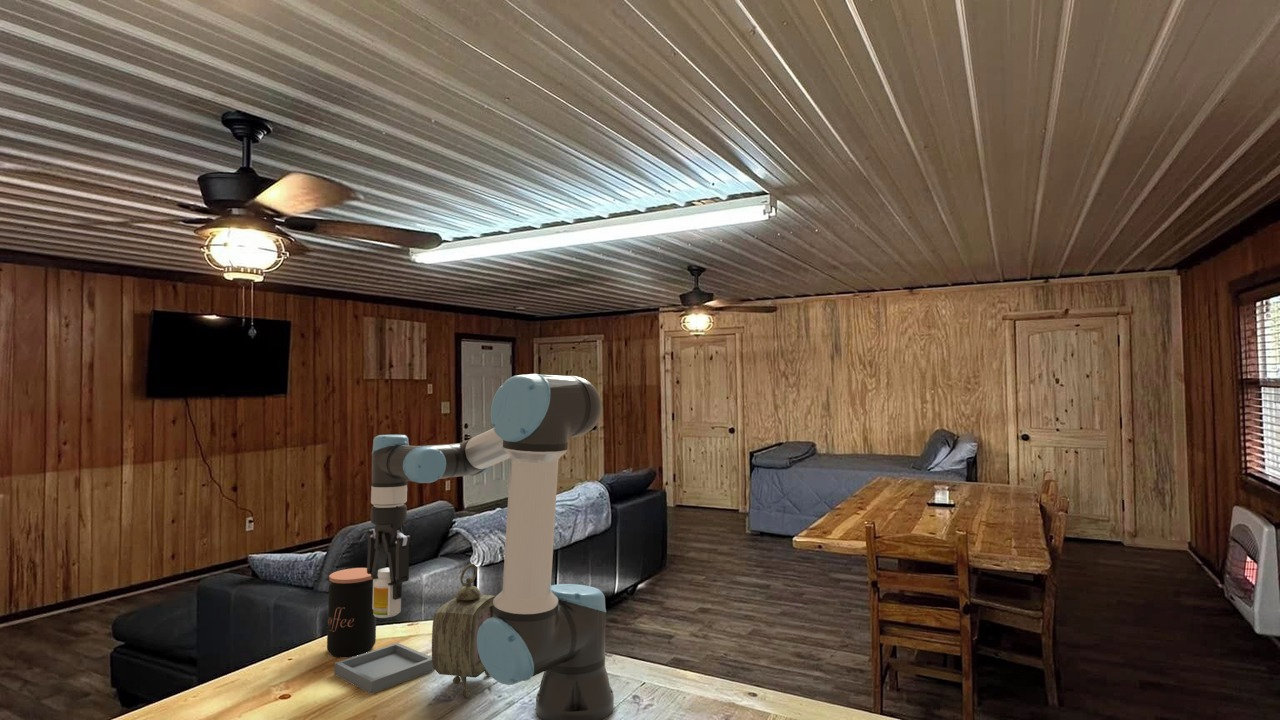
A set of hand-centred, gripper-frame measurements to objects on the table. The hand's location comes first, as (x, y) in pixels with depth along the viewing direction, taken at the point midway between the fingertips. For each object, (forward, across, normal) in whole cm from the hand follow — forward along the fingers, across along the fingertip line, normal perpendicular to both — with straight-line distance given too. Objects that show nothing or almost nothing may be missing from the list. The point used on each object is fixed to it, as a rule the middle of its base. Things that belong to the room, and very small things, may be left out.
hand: (386, 610), depth 145 cm
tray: (+13, 0, 0) cm, 13 cm away
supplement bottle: (+1, 0, 0) cm, 1 cm away
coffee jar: (+14, +18, -2) cm, 23 cm away
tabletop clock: (+14, -19, -7) cm, 24 cm away
